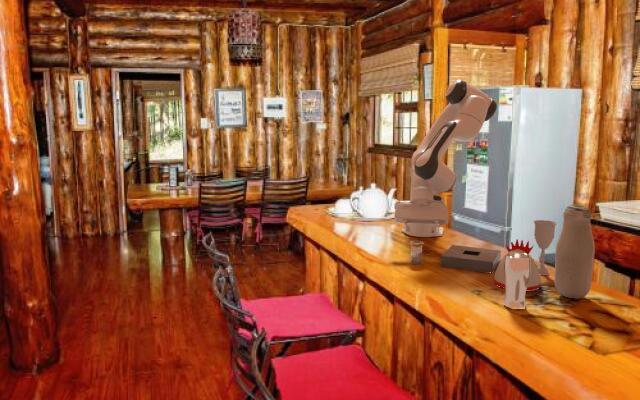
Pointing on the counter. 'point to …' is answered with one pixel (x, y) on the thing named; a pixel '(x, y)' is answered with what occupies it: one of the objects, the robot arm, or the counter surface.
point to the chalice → (544, 240)
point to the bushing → (416, 252)
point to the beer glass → (516, 278)
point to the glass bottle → (574, 253)
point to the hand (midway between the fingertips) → (420, 231)
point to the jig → (471, 258)
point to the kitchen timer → (534, 274)
